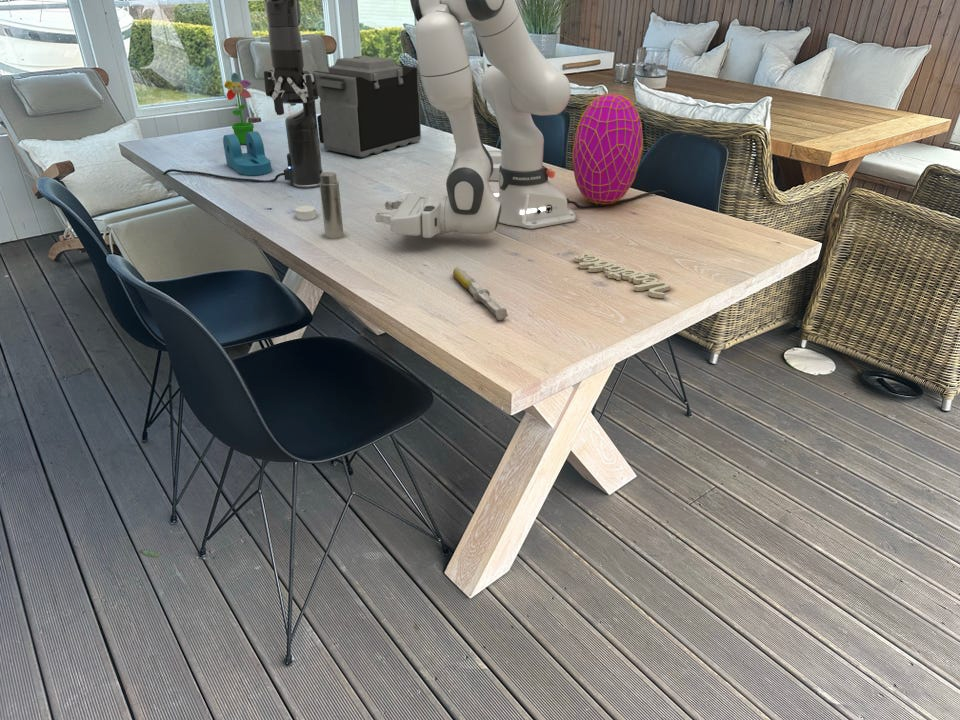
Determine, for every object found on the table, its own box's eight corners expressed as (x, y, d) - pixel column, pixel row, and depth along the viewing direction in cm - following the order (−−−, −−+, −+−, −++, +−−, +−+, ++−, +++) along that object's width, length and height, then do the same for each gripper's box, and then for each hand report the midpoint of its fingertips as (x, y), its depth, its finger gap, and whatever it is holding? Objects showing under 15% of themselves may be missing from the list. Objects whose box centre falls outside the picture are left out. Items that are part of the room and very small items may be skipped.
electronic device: (383, 133, 276) (378, 52, 261) (425, 141, 265) (422, 56, 250) (314, 150, 251) (304, 61, 235) (358, 160, 240) (350, 67, 224)
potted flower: (235, 145, 255) (223, 73, 243) (231, 141, 261) (219, 70, 249) (261, 143, 259) (250, 72, 247) (256, 139, 265) (246, 69, 252)
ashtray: (462, 161, 240) (462, 149, 238) (529, 162, 239) (529, 150, 237) (459, 179, 220) (459, 167, 218) (531, 181, 220) (531, 168, 217)
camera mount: (227, 164, 233) (221, 132, 227) (257, 160, 238) (252, 129, 233) (244, 176, 220) (239, 143, 215) (276, 172, 225) (271, 139, 220)
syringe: (449, 274, 155) (449, 263, 153) (465, 272, 156) (464, 260, 154) (490, 323, 135) (491, 310, 133) (508, 319, 136) (508, 307, 134)
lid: (303, 221, 185) (302, 213, 184) (292, 216, 188) (291, 208, 187) (320, 216, 188) (319, 208, 187) (308, 212, 191) (307, 204, 190)
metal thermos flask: (327, 232, 178) (321, 170, 170) (345, 232, 178) (339, 171, 170) (323, 238, 174) (316, 176, 166) (341, 239, 174) (335, 176, 166)
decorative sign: (686, 282, 150) (660, 295, 144) (686, 286, 150) (659, 300, 144) (592, 249, 166) (565, 259, 160) (592, 253, 167) (565, 263, 161)
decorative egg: (611, 217, 189) (624, 103, 174) (555, 202, 201) (562, 94, 185) (647, 202, 202) (662, 94, 186) (592, 188, 213) (602, 86, 198)
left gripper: (252, 46, 166) (262, 116, 174) (300, 49, 161) (308, 121, 169) (271, 43, 172) (280, 111, 180) (319, 46, 167) (326, 116, 175)
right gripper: (442, 189, 177) (390, 186, 178) (427, 214, 159) (369, 212, 161) (443, 212, 180) (391, 210, 181) (428, 240, 163) (371, 237, 164)
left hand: (294, 116), depth 175 cm, fingers open, 8 cm apart
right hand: (381, 211), depth 171 cm, fingers open, 8 cm apart
